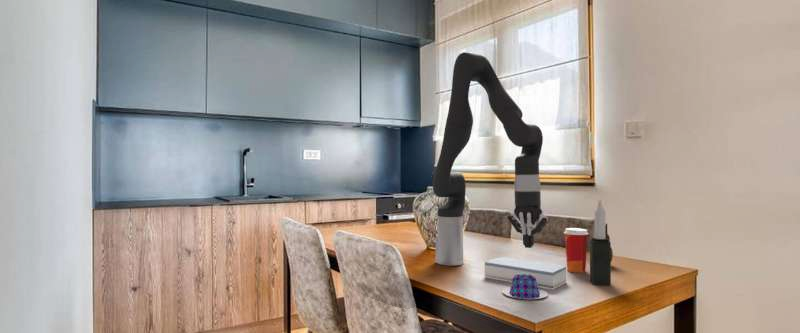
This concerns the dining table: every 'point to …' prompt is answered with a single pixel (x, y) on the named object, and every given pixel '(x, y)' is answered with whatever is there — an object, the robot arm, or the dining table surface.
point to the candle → (600, 251)
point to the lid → (526, 266)
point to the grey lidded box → (541, 279)
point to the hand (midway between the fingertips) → (528, 247)
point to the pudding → (524, 287)
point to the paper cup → (576, 249)
